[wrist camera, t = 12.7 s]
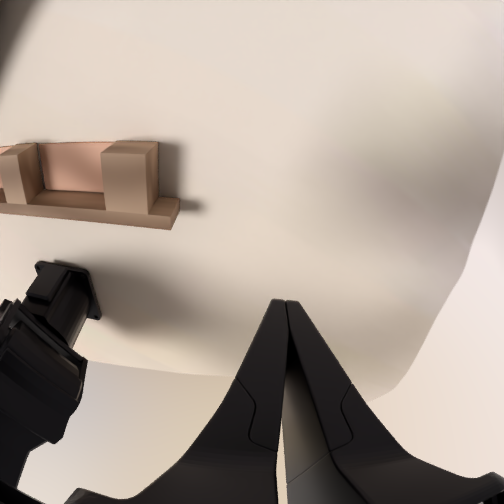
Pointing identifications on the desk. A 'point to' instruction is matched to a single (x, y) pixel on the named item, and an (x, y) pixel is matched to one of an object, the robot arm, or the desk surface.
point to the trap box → (86, 183)
